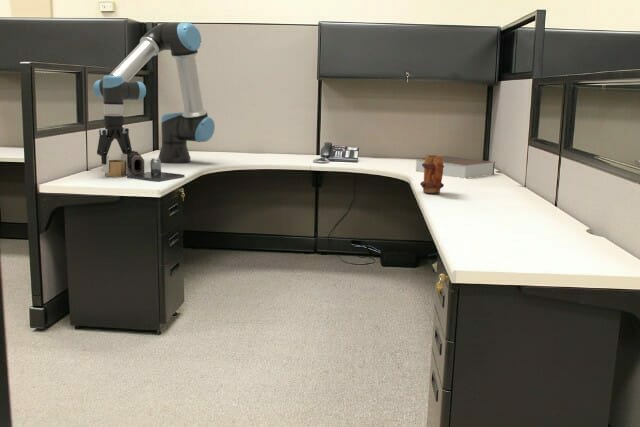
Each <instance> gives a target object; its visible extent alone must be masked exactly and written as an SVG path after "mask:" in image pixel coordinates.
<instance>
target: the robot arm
mask: <svg viewBox="0 0 640 427" xmlns="http://www.w3.org/2000/svg"><path fill="white" fill-rule="evenodd" d="M201 43H202V34H201V32H200V31H199V28H198V27H197V26H196V25H194V24H193V23H190V22H163V23H160V24H158V25H156V26H154V27H152V28H151V29H150V30H148V31H147V32H146V33H144V35H143V36H142V37H141V38H140V40H139V43H138V44H137V45H136V47H135V48H134V49H133V50H132V51H131V52H130V53H129V54H128V55H126V57H125V58H124V59H123V60H122V61H121V62H120V63H119V64H118V65H117V66H116V67H115V68H114V69H113V70H112V72H110V73H109V74H108V75H107V74H106V75H104V76H103V78H102V79H99V80H98V79H97V80H96V81H94V84H93V93H94V94H95V96H96V97H97V98H101V99H103V114H104V116H103V124H104V126H105V129H99V130H98V132H99V133H98V134H99V137H98V138H99V139H98V143H97V151H96V154H97V155H98V156H99V157H101V158H100V159H101V165H102V173H104V174H105V173H109V160H110V157H109V156H108V153H109V151H110V148H111V145H112V143H113V141H114V140H116V141H117V143H118V146H119V148H120V150H121V153H120V160H125V161H126V171H128V170H129V168H128V167H127V162H128V154H130V152H132V151H133V149H132V143H131V139H130V135H129V134H130V133H129V132H130V129H129V128H126V127H123V126H124V125H125V117H124V116H123V115H124V110H125V109H124V108H125V107H124V100H125V101H127V100H128V101H131V100H132V101H138V100H143V99H144V98H145V97H146V94H147V87H146V85H145V83H143V82H141V81H137V80H132V78H134V77H135V75H136V74H137V73H138V72H139V71H141V69H142V68H143V67H144V66H145V65H146V64H147V63H148V62H149V61H150V60H151V59H152V58H153V57H155V56H158V55H159V53H161V52H163V51H170V54H171V57H172V58H174V59H175V63H176V68H177V74H178V80H179V85H180V86H179V88H180V92H181V97H182V104H183V109H184V111H183V112H173V113H172V112H171V113H165V114H163V115H162V116H161V124H160V125H161V126H160V127H161V147H160V150H159V154H158V157H157V158H159V159H160V160H161V163H165V164H167V163H168V164H183V163H184V164H185V163H191V155H190V153H189V152H190V151H189V149H188V145H187V141H189V142H197V143H206V142H208V141H210V140H211V139H212V137H213V135H214V133H215V121H214V119H213V118H212V117H209V116H208V115H209V114H208V111H207V110H206V109H205V108H204V106H203V98H202V92H201V86H200V80H199V74H198V67H197V63H196V62H197V61H196V60H197V59H196V56H197V54H198V53H199V52H198V50H199V49H200V48H201Z"/></svg>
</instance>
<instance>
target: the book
mask: <svg viewBox="0 0 640 427" xmlns="http://www.w3.org/2000/svg"><path fill="white" fill-rule="evenodd" d="M441 156H442V158H443V165H444V168H443V177H444V176H445V177H450V178H457V177H459V179H464V178H466V179H470V178H469V177H474V178H478V177H477V176H481V177H484V176H483V175H488V176H491V175H490V174H495V165H496V162H495V161H490V160H481V159H473V158H472V159H471V158H466V157H465V158H464V157H457V156H448V155H441ZM415 160H416V165H415V172H417V173H418V172H419V173H424V168H423V166H422V164H423V163H424V162H425V157H420V158H415Z"/></svg>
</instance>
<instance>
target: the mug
mask: <svg viewBox="0 0 640 427" xmlns="http://www.w3.org/2000/svg"><path fill="white" fill-rule="evenodd" d="M442 156H443V155H435V154H431V155H428V154H427V155H425V156H424V158H425V162H424V163H423V164H422V166H423V168H424V172H423V181H421V182H420V186H421V187H422V192H423V193H424V194H440V193H441V189H442V188H443V187H444V186H445V185H444V183H443V182H442V181H443V177H444V175H443V168H444V165H443V158H442Z"/></svg>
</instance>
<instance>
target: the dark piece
mask: <svg viewBox="0 0 640 427" xmlns="http://www.w3.org/2000/svg"><path fill="white" fill-rule="evenodd" d="M185 175H186V174H183V173H173V172H166V171H162V162H161V160H160V159H159V158H158V157H157V158H156V157H155V158H154V157H152V158H151V160H150V171H147V172H145V171H144V173H139V174H133V173H132V174H126V178H127V179H135V180H142V181H148V182H149V181H150V182H157V183H159V182H165V181H171V180H175V179H181V178H185V177H186V176H185Z"/></svg>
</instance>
